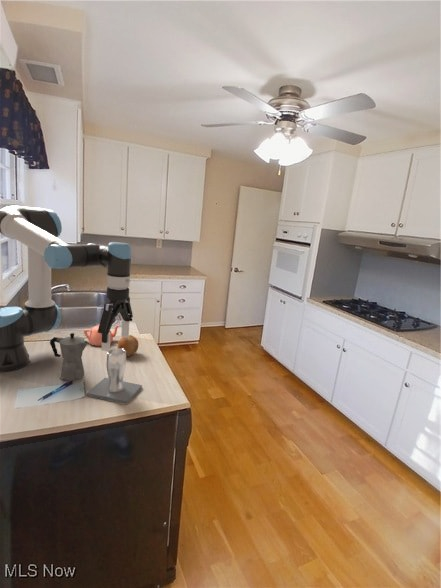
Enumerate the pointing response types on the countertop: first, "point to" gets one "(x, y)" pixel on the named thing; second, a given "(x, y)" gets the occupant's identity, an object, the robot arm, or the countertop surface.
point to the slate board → (120, 397)
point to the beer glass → (116, 369)
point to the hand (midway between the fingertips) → (115, 343)
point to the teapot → (98, 335)
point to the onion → (128, 345)
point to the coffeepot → (70, 356)
